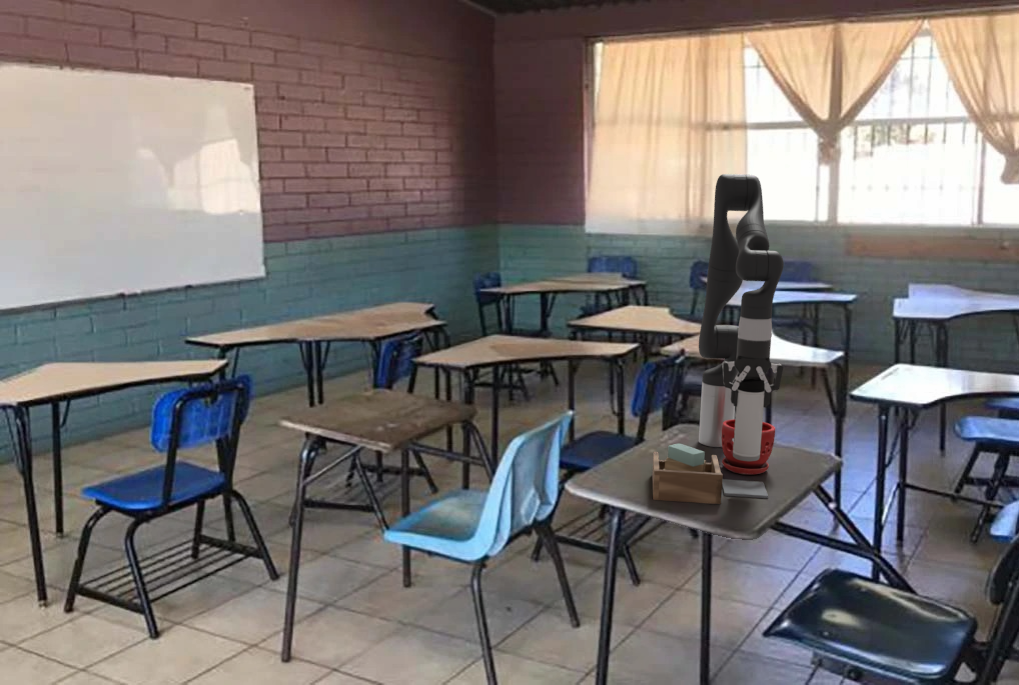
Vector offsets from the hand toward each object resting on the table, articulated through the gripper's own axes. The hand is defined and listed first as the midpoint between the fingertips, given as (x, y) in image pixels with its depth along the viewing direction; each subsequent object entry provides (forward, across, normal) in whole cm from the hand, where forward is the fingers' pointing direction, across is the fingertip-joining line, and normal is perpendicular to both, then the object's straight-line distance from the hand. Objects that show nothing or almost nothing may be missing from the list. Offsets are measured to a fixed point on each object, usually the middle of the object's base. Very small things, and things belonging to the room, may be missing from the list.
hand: (749, 405), depth 227 cm
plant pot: (+21, -2, -16) cm, 26 cm away
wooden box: (+21, +14, +2) cm, 25 cm away
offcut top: (+15, +14, -2) cm, 21 cm away
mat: (+21, 0, 0) cm, 21 cm away
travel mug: (+13, 0, 0) cm, 13 cm away
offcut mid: (+18, +14, -2) cm, 23 cm away
